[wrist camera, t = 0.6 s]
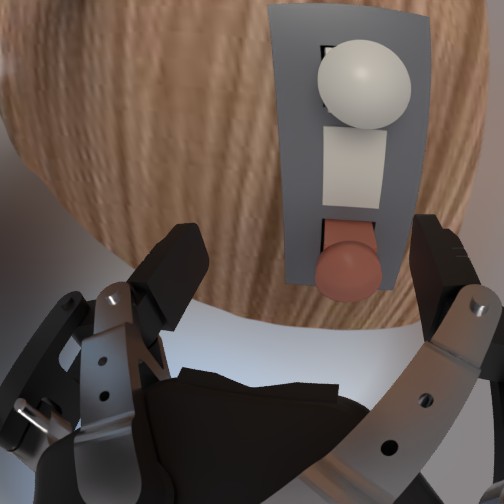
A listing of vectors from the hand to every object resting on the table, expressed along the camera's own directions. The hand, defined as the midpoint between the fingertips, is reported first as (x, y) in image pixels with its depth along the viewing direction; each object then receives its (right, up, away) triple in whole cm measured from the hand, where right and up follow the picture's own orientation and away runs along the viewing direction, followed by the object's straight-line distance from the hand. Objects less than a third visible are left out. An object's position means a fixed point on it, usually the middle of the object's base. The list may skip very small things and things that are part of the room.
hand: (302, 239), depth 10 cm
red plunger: (+8, +2, +18) cm, 20 cm away
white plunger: (+6, +14, +9) cm, 18 cm away
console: (+8, +11, +17) cm, 22 cm away
